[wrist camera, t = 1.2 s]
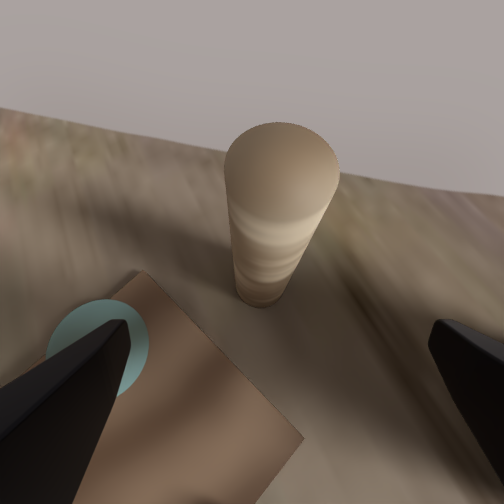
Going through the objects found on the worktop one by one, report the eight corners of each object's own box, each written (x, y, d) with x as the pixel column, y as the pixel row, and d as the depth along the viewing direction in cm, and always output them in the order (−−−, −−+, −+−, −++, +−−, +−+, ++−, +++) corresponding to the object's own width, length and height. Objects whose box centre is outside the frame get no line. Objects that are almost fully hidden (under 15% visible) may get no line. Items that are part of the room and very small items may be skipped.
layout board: (300, 434, 18) (304, 438, 17) (-19, 845, 12) (-47, 896, 11) (139, 265, 21) (133, 259, 20) (-166, 525, 16) (-199, 538, 15)
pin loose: (294, 282, 21) (362, 167, 9) (261, 318, 20) (287, 242, 8) (259, 251, 22) (277, 105, 10) (225, 283, 21) (199, 167, 9)
